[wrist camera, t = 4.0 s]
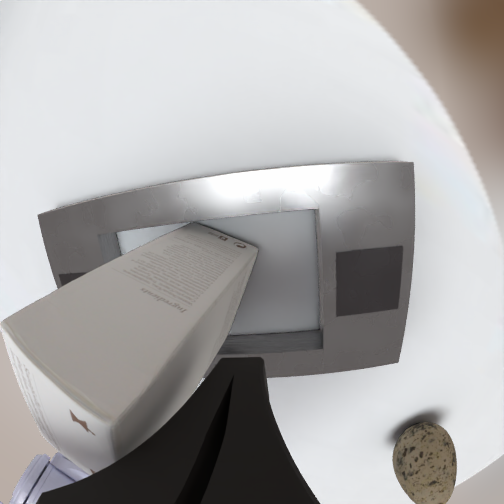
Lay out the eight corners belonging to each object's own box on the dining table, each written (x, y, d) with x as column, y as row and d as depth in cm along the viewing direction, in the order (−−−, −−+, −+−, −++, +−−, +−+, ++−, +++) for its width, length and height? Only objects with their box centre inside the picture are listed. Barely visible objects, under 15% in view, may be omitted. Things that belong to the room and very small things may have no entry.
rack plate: (389, 344, 17) (398, 363, 15) (102, 352, 20) (90, 367, 18) (398, 161, 14) (414, 162, 12) (56, 208, 16) (36, 215, 14)
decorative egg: (378, 448, 21) (393, 527, 12) (398, 413, 20) (425, 504, 10) (425, 439, 21) (448, 509, 12) (449, 404, 19) (483, 481, 10)
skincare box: (191, 219, 16) (-14, 305, 4) (266, 248, 15) (113, 424, 4) (170, 308, 18) (32, 430, 6) (233, 338, 17) (126, 503, 6)
